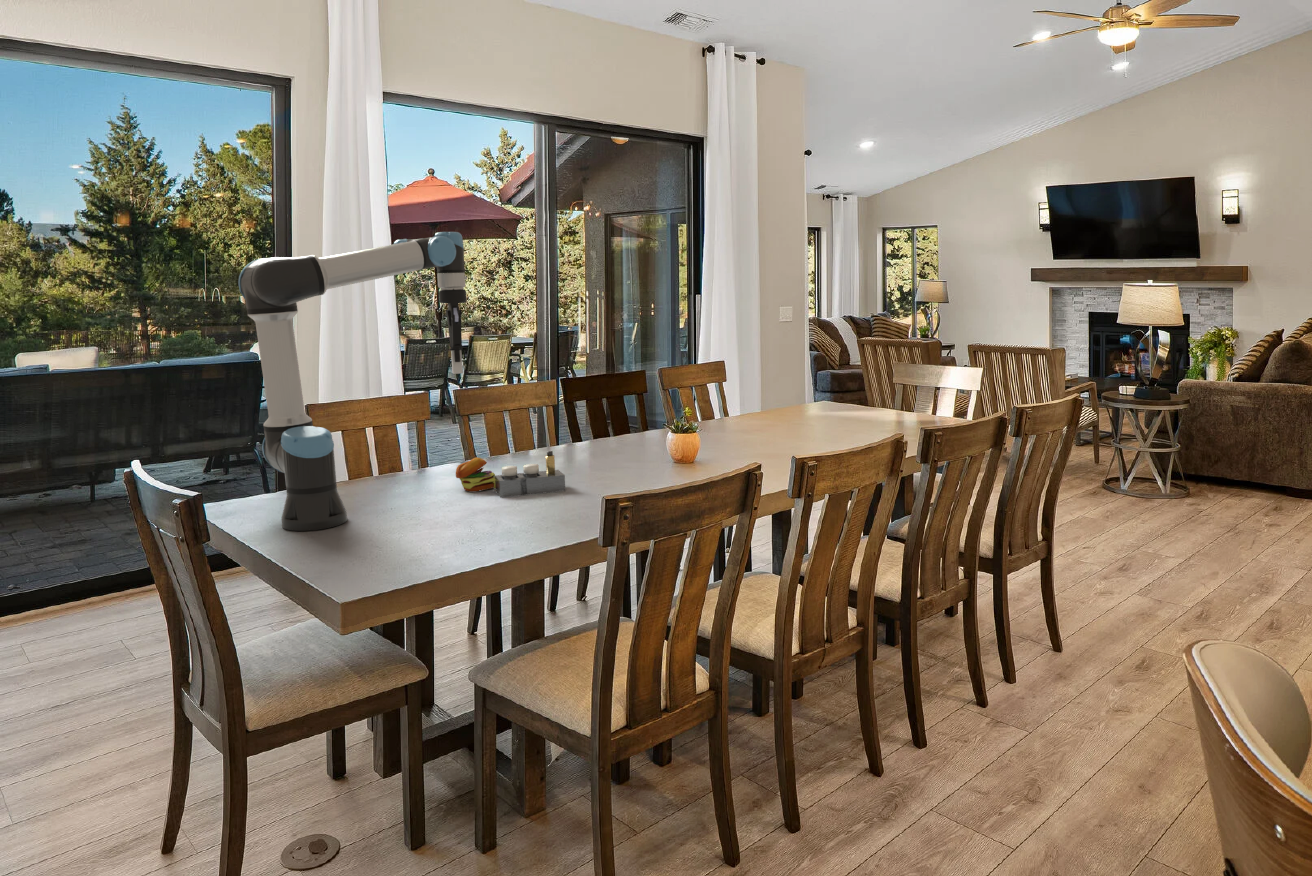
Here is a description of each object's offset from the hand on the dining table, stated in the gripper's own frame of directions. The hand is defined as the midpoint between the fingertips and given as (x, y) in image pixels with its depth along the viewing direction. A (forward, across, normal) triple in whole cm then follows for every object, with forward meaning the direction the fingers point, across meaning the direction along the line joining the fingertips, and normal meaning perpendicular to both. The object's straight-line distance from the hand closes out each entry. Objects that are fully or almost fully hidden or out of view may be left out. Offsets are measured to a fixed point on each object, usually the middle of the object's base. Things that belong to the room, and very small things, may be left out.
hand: (457, 373), depth 260 cm
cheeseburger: (+33, -6, -3) cm, 33 cm away
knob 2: (+32, -16, -16) cm, 39 cm away
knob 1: (+32, -16, -11) cm, 37 cm away
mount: (+32, -16, -16) cm, 40 cm away
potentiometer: (+28, -16, -22) cm, 39 cm away
